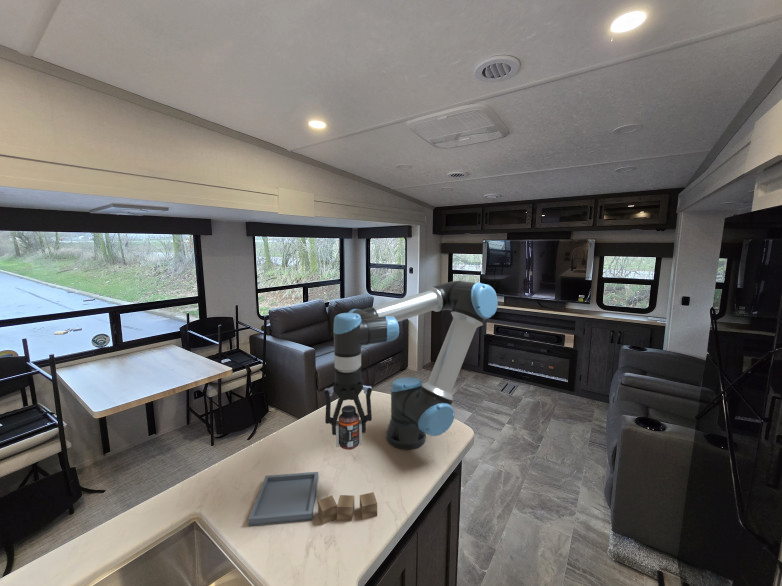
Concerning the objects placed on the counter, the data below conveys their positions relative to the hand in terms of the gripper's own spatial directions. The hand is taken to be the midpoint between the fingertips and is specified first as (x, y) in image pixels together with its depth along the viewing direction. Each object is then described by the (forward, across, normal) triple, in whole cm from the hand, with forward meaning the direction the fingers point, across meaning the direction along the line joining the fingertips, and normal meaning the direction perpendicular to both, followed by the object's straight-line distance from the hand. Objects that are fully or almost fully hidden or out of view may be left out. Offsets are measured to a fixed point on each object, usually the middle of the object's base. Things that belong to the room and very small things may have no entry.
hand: (349, 443), depth 91 cm
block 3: (+15, -5, +9) cm, 18 cm away
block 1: (+15, +6, +9) cm, 18 cm away
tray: (+15, +18, +2) cm, 23 cm away
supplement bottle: (+1, 0, 0) cm, 1 cm away
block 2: (+15, +1, +9) cm, 17 cm away
